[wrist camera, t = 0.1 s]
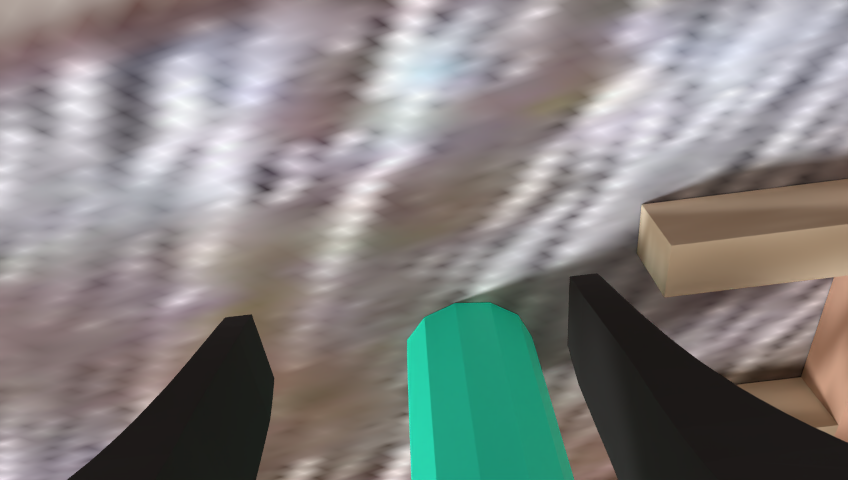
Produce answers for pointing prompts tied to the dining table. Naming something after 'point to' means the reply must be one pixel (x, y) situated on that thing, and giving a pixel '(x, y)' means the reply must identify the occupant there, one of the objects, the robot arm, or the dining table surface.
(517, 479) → the candle
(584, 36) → the dining table surface
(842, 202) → the stand
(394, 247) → the dining table surface
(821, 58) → the dining table surface
